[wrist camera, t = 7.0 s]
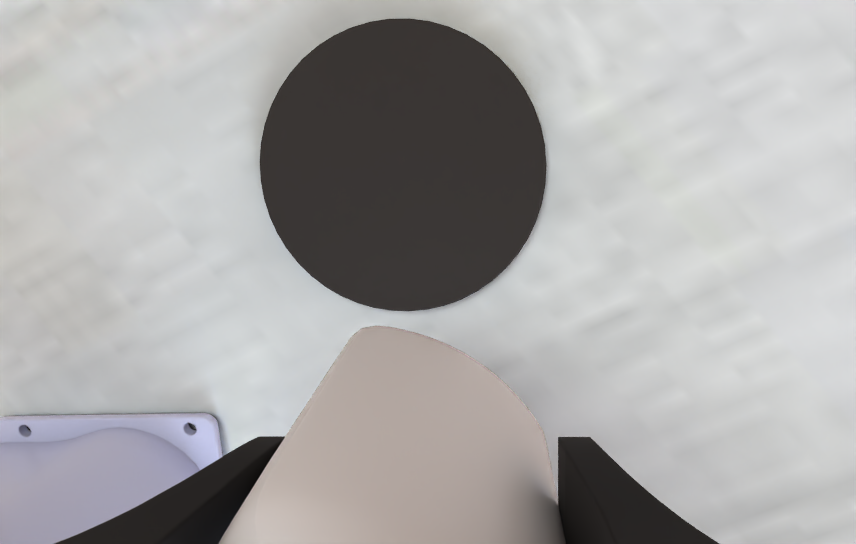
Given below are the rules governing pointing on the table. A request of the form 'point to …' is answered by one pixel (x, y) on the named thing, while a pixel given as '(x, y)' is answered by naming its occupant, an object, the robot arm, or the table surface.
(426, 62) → the coaster
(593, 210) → the table surface
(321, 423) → the eye dropper bottle
